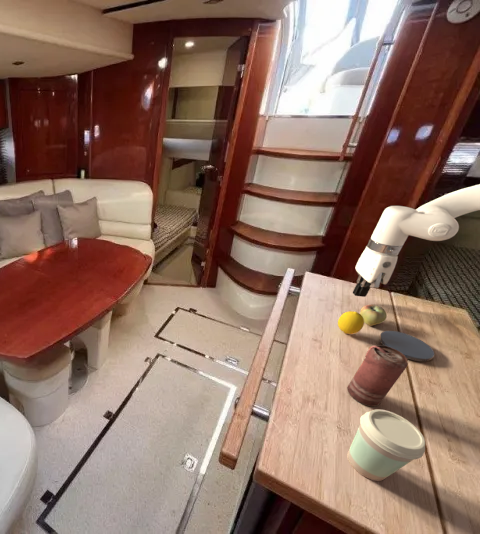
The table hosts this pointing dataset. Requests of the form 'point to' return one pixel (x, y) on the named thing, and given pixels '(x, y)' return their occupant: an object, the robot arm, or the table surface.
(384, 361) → the can
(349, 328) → the lemon
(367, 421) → the coffee cup
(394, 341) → the plate
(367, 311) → the apple
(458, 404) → the table surface
